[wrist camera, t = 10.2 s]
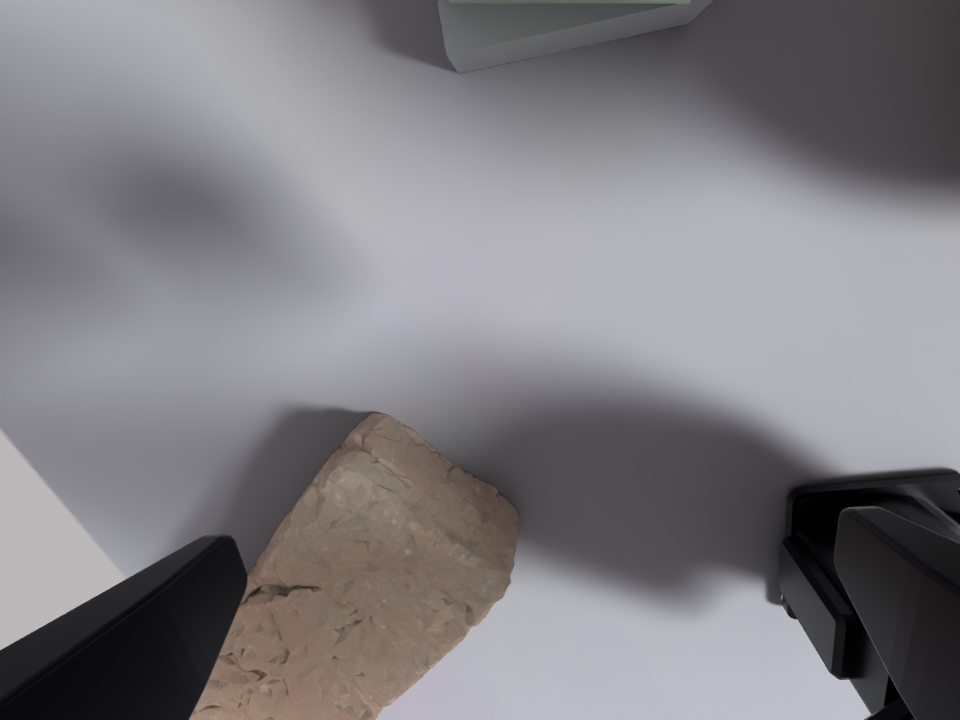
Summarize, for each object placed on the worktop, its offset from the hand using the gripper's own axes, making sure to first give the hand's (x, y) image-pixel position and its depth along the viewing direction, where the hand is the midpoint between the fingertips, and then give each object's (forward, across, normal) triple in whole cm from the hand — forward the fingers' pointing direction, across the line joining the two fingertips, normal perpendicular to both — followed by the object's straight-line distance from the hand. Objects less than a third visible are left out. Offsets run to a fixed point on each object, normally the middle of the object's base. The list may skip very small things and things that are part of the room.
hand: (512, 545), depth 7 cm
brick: (+12, +9, +11) cm, 19 cm away
